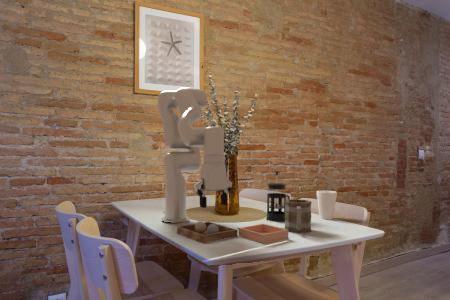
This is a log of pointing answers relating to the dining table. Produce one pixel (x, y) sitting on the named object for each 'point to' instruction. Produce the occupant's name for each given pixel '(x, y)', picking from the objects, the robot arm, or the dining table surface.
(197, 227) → the beige ball
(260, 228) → the terracotta dish
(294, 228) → the mug
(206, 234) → the walnut tray
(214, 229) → the grey ball
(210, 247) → the dining table surface
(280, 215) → the french press
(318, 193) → the foam cup
